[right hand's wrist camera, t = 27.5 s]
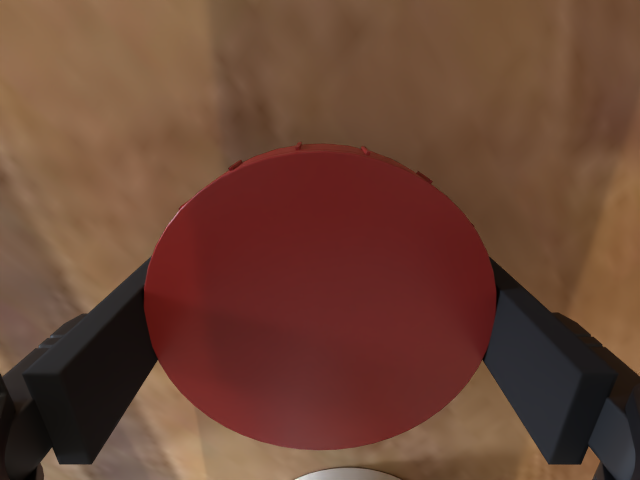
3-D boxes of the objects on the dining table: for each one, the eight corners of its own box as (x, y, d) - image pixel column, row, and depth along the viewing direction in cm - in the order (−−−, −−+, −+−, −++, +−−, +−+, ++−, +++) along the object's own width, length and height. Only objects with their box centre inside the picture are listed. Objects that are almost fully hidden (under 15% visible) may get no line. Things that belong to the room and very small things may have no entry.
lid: (482, 120, 10) (515, 124, 8) (465, 400, 14) (484, 440, 12) (124, 161, 10) (88, 173, 9) (208, 421, 14) (193, 462, 13)
